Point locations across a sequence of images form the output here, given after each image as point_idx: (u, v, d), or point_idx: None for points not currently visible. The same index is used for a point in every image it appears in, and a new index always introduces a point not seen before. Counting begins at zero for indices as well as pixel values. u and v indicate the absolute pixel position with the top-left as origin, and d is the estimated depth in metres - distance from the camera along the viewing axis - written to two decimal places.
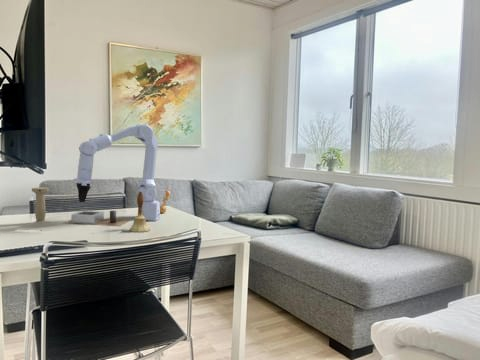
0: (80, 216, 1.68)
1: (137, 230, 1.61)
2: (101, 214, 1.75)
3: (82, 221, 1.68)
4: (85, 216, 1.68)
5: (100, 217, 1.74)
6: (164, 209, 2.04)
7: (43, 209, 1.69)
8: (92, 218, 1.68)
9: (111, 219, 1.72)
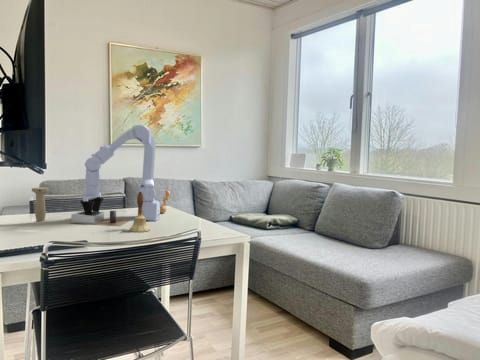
0: (80, 216, 1.68)
1: (137, 230, 1.61)
2: (101, 214, 1.75)
3: (82, 221, 1.68)
4: (85, 216, 1.68)
5: (100, 217, 1.74)
6: (164, 209, 2.04)
7: (43, 209, 1.69)
8: (92, 218, 1.68)
9: (111, 219, 1.72)
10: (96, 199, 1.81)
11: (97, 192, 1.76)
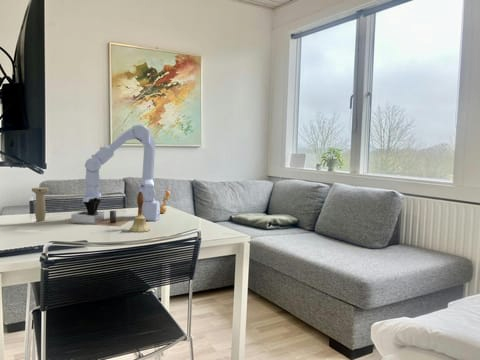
0: (80, 216, 1.68)
1: (137, 230, 1.61)
2: (101, 214, 1.75)
3: (82, 221, 1.68)
4: (85, 216, 1.68)
5: (100, 217, 1.74)
6: (164, 209, 2.04)
7: (43, 209, 1.69)
8: (92, 218, 1.68)
9: (111, 219, 1.72)
10: (93, 200, 1.78)
11: (97, 193, 1.76)
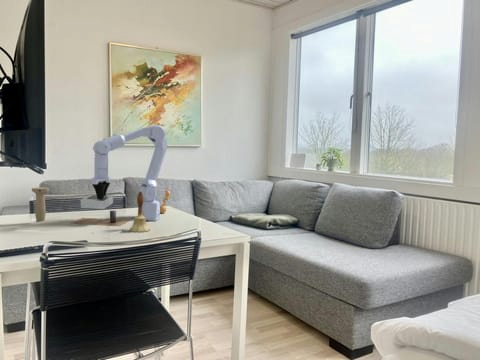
0: (89, 201, 1.68)
1: (137, 230, 1.61)
2: (110, 198, 1.74)
3: (91, 206, 1.68)
4: (94, 201, 1.67)
5: (109, 201, 1.73)
6: (164, 209, 2.04)
7: (43, 209, 1.69)
8: (101, 203, 1.67)
9: (111, 219, 1.72)
10: (102, 184, 1.77)
11: (106, 175, 1.75)
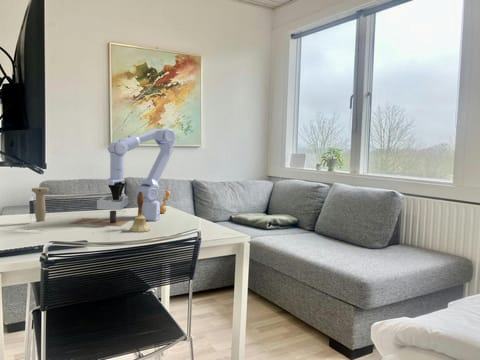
0: (106, 202, 1.67)
1: (137, 230, 1.61)
2: (126, 199, 1.74)
3: (108, 207, 1.68)
4: (111, 202, 1.67)
5: (125, 202, 1.73)
6: (164, 209, 2.04)
7: (43, 209, 1.69)
8: (118, 204, 1.67)
9: (111, 219, 1.72)
10: (118, 184, 1.77)
11: (122, 176, 1.74)
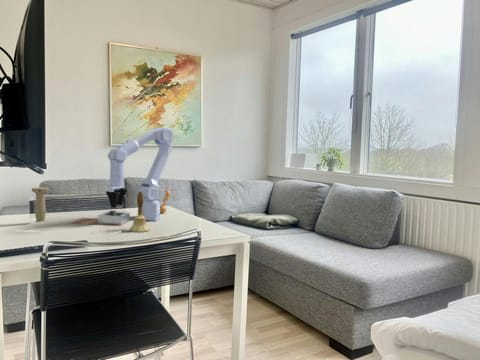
0: (107, 217, 1.69)
1: (136, 230, 1.61)
2: (127, 215, 1.76)
3: (109, 222, 1.69)
4: (112, 217, 1.69)
5: (126, 218, 1.75)
6: (164, 209, 2.04)
7: (43, 209, 1.69)
8: (118, 219, 1.69)
9: None
10: (120, 190, 1.79)
11: (122, 183, 1.75)
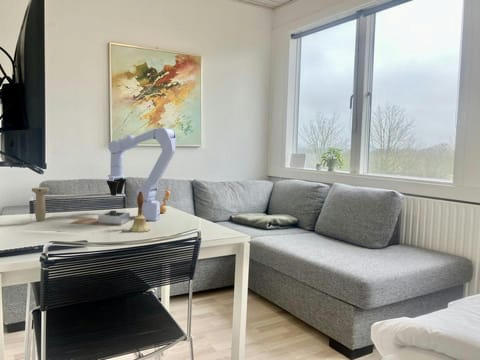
0: (107, 217, 1.69)
1: (136, 230, 1.61)
2: (127, 215, 1.76)
3: (109, 222, 1.69)
4: (112, 217, 1.69)
5: (126, 218, 1.75)
6: (164, 209, 2.04)
7: (43, 209, 1.69)
8: (118, 219, 1.69)
9: None
10: (120, 180, 1.94)
11: (121, 173, 1.89)
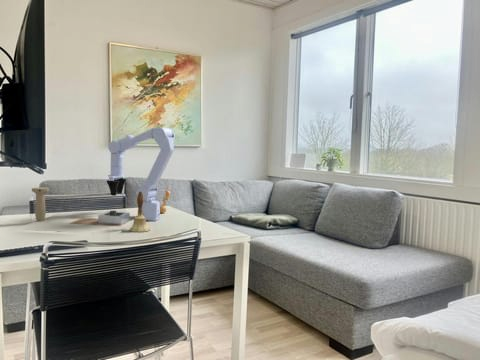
0: (107, 217, 1.69)
1: (136, 230, 1.61)
2: (127, 215, 1.76)
3: (109, 222, 1.69)
4: (112, 217, 1.69)
5: (126, 218, 1.75)
6: (164, 209, 2.04)
7: (43, 209, 1.69)
8: (118, 219, 1.69)
9: None
10: (120, 180, 1.95)
11: (121, 173, 1.90)
